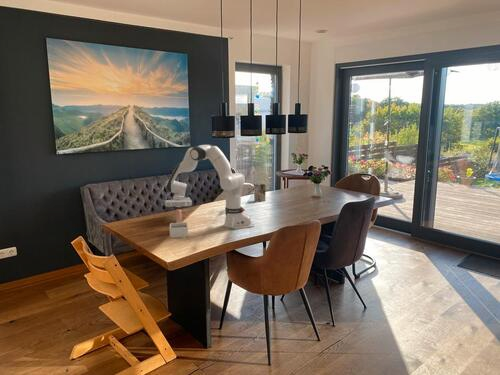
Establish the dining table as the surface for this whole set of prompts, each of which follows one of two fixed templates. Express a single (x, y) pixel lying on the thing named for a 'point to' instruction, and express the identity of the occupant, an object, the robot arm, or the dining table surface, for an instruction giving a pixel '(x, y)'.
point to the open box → (178, 230)
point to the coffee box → (259, 192)
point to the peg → (178, 216)
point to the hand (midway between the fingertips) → (178, 205)
